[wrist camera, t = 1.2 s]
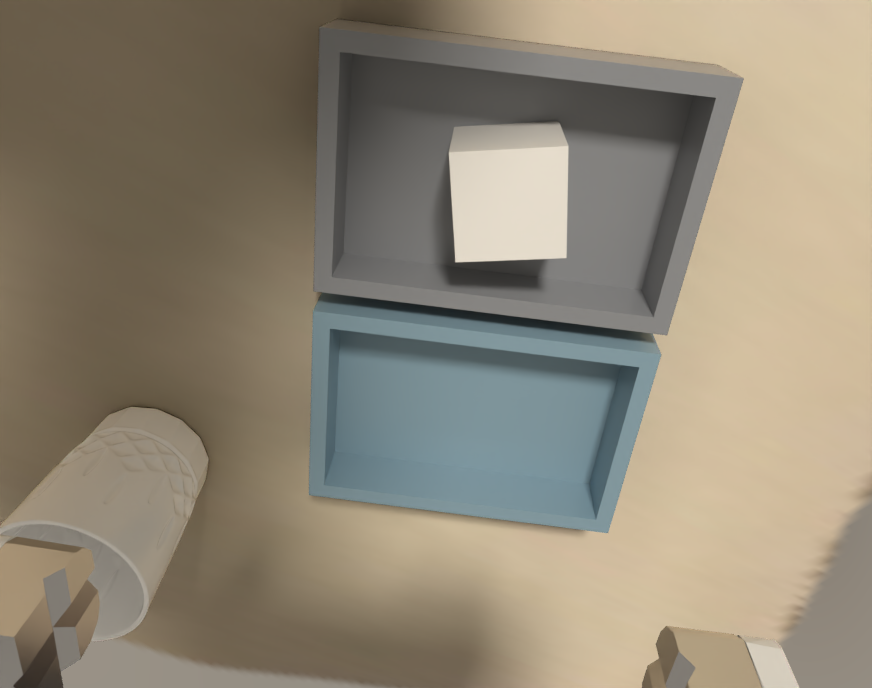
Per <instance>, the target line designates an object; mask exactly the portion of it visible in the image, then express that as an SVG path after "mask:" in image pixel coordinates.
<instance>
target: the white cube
mask: <svg viewBox="0 0 872 688" xmlns="http://www.w3.org/2000/svg"><path fill="white" fill-rule="evenodd" d="M449 165H450V181H451V198H452V214H453V230H454V247H455V262H480V261H505V260H531V259H556V258H566V255H567V200H568V143H567V141H566V138H565V136H564V133H563V131H562V128H561V125H560V123H559V121H547V122H530V123H512V124H495V125H477V126H460V127H454V130H453V135H452V140H451V144H450V149H449Z"/></svg>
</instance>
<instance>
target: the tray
mask: <svg viewBox="0 0 872 688" xmlns="http://www.w3.org/2000/svg"><path fill="white" fill-rule="evenodd" d="M743 79H744V78H742V77H740V76H738V75H737V74H735V73H733V72H731V71H729V70H727V69H725V68H723V67H721V66H719V65H714V64H706V63H697V62H689V61H681V60H673V59H664V58H656V57H648V56H640V55H631V54H623V53H615V52H607V51H598V50H590V49H582V48H573V47H565V46H557V45H549V44H540V43H532V42H524V41H516V40H507V39H499V38H491V37H483V36H474V35H466V34H458V33H449V32H441V31H433V30H425V29H416V28H408V27H400V26H392V25H383V24H375V23H367V22H359V21H350V20H342V19H336V20H334V21H331V22H329V23H327V24H325V25H323V26H320V29H319V73H318V117H317V160H316V204H315V248H314V291H315V292H323V293H331V294H339V295H347V296H355V297H363V298H371V299H379V300H387V301H395V302H404V303H412V304H420V305H428V306H436V307H444V308H452V309H460V310H468V311H476V312H484V313H492V314H500V315H508V316H516V317H524V318H532V319H540V320H548V321H556V322H564V323H572V324H580V325H588V326H596V327H604V328H612V329H620V330H628V331H636V332H644V333H652V334H660V335H667V334H668V330H669V327H670V324H671V320H672V317H673V314H674V310H675V307H676V303H677V300H678V297H679V293H680V290H681V287H682V283H683V280H684V277H685V273H686V270H687V267H688V263H689V260H690V257H691V253H692V250H693V247H694V243H695V240H696V237H697V233H698V230H699V226H700V223H701V220H702V216H703V213H704V210H705V206H706V203H707V200H708V196H709V193H710V190H711V186H712V183H713V180H714V176H715V173H716V170H717V166H718V163H719V160H720V156H721V153H722V150H723V146H724V143H725V139H726V136H727V133H728V129H729V126H730V123H731V119H732V116H733V113H734V109H735V106H736V103H737V99H738V96H739V93H740V89H741V86H742V83H743ZM547 121H559V123H560V125H561V128H562V131H563V133H564V136H565V138H566V141H567V143H568V200H567V255H566V258H556V259H531V260H505V261H480V262H455V247H454V230H453V214H452V198H451V181H450V165H449V149H450V144H451V140H452V135H453V130H454V127H460V126H477V125H495V124H512V123H530V122H547Z"/></svg>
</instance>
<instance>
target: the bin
mask: <svg viewBox="0 0 872 688" xmlns="http://www.w3.org/2000/svg"><path fill="white" fill-rule="evenodd" d="M660 357H661V353H660V350H659V348H658V346H657V343H656V341H655V338H654V336H653V334H652V333H644V332H636V331H628V330H620V329H612V328H604V327H596V326H588V325H580V324H572V323H564V322H556V321H548V320H540V319H532V318H524V317H516V316H508V315H500V314H492V313H484V312H476V311H468V310H460V309H452V308H444V307H436V306H428V305H420V304H412V303H404V302H395V301H387V300H379V299H371V298H363V297H355V296H347V295H339V294H331V293H323V292H322V294H321V296H320V298H319V300H318V302H317V304H316V306H315V308H314V310H313V335H312V379H311V422H310V466H309V495H313V496H321V497H328V498H336V499H344V500H352V501H360V502H368V503H376V504H383V505H391V506H399V507H407V508H415V509H423V510H430V511H438V512H446V513H454V514H462V515H470V516H478V517H485V518H493V519H501V520H509V521H517V522H525V523H533V524H540V525H548V526H556V527H564V528H572V529H580V530H587V531H595V532H603V533H608V531H609V528H610V524H611V521H612V518H613V514H614V511H615V508H616V504H617V501H618V498H619V494H620V491H621V488H622V484H623V481H624V478H625V474H626V471H627V467H628V464H629V461H630V457H631V454H632V451H633V447H634V444H635V441H636V437H637V434H638V431H639V427H640V424H641V421H642V417H643V414H644V411H645V407H646V404H647V401H648V397H649V394H650V391H651V387H652V384H653V380H654V377H655V374H656V370H657V367H658V364H659V360H660Z"/></svg>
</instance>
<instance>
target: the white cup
mask: <svg viewBox="0 0 872 688" xmlns="http://www.w3.org/2000/svg"><path fill="white" fill-rule="evenodd" d="M208 462H209V458H208V456H207V453H206V451H205V448H204V446H203V443H202V441H201V439H200V437H199V436H198V435H197V434H196V433H195V432H194V431H193V430H192V429H191V428H190V427H188V426H187V425H186V424H185V423H184V422H183V421H182V420H181V419H178V418H176V417H174V416H172V415H170V414H167V413H165V412H163V411H161V410H158V409H153V408H140V407H129V408H126V409H123V410H120V411H117V412H115V413H112V414H109V415H108V416H107V417H106V418H105V419H104V420H103V421H102V422H101V423H100V424H99V425H98V426H97V428H96V429H95V430H94V431H93V432H92V433H91V434H90V435H89V436H88V437H87V438H86V439H85V440H84V441H83V442H82V443H81V444H79V445H78V446H77V447H75V448H74V449H73V450H72V451H71V452H70V453H69V454H68V455H67V456H66V457H65V458H64V459H63V460H62V461H61V462H60V463H59V464H58V465H56V466H55V467H54V469H53V470H52V471H51V472H50V473H49V474H48V475H47V476H46V477H45V478H44V479H43V480H42V481H41V482H40V483H39V484H38V486H37V487H36V488H35V489H34V490H33V491H32V492H31V493H30V494H29V495H28V496H27V497H26V498H25V499H24V500H23V502H22V503H21V504H20V505H19V506H18V507H17V508H16V509H15V510H14V511H13V512H12V513H11V514H10V515H9V516H8V517H7V518H6V520H5V521H4V522H3V523H2V524H1V525H0V535H7V536H13V537H23V538H29V539H35V540H41V541H47V542H53V543H59V544H66V545H72V546H78V547H84V548H87V549H89V550H91V551H92V556H93V561H94V566H95V568H94V570H93V571H92V573H91V574H90V576H89V577H88V580H89V582H90V583H91V584H92V585H93V586H94V587H95V588H96V589H97V590H98V593H99V601H100V607H99V617H98V622H97V625H96V628H95V631H94V634H93V637H92V639H91V642H96V641H106V640H111V639H115V638H118V637H121V636H123V635H126V634H128V633H129V632H131V631H132V630H134V629H135V628H136V627H137V626H138V625H139V624H140V623H141V622H142V621H143V619H144V617H145V616H146V614H147V611H148V609H149V607H150V605H151V602H152V600H153V598H154V596H155V594H156V592H157V589H158V587H159V585H160V583H161V581H162V579H163V576H164V574H165V572H166V570H167V568H168V566H169V563H170V561H171V559H172V557H173V555H174V553H175V551H176V548H177V546H178V544H179V542H180V540H181V537H182V535H183V532H184V530H185V527H186V525H187V523H188V521H189V519H190V516H191V514H192V511H193V508H194V505H195V502H196V499H197V497H198V495H199V493H200V491H201V489H202V487H203V484H204V482H205V480H206V475H207V469H208Z"/></svg>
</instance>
